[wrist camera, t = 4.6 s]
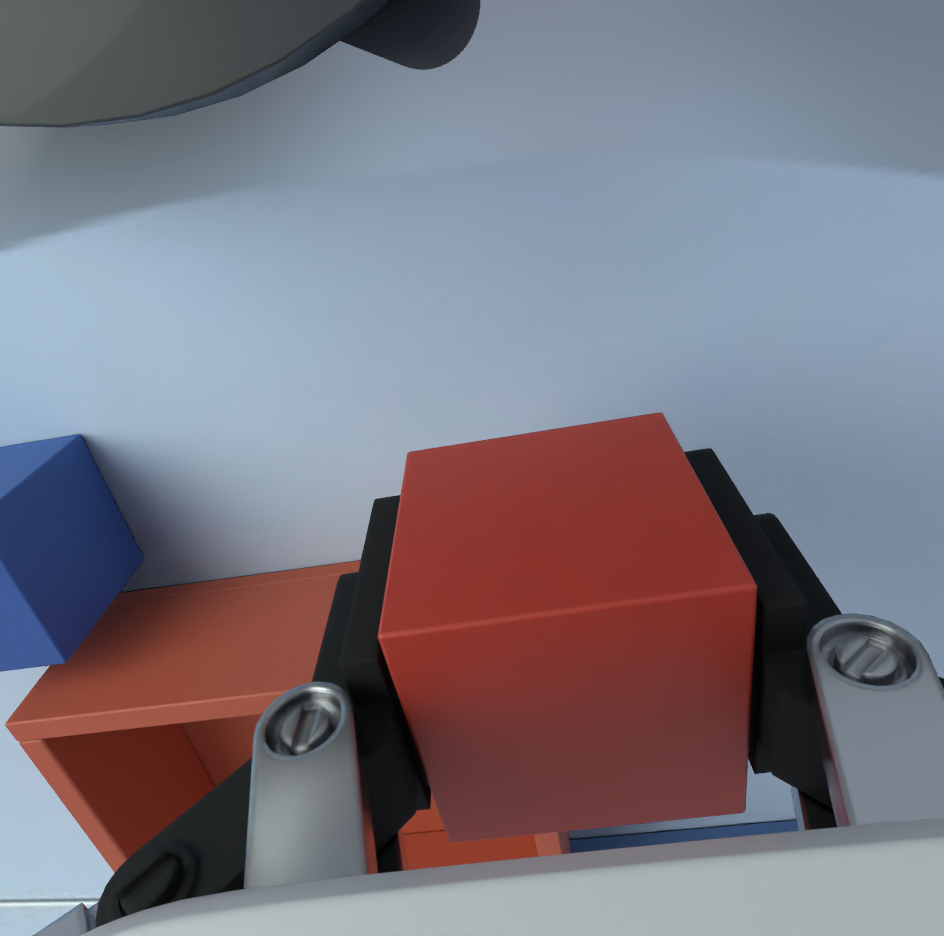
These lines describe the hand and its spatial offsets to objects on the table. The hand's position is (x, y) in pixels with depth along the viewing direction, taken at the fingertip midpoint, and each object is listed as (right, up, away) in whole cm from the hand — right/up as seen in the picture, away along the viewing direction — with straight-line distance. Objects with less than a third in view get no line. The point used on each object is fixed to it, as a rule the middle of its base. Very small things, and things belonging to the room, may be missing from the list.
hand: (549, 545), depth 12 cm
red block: (0, 0, 0) cm, 0 cm away
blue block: (-14, 0, +8) cm, 16 cm away
